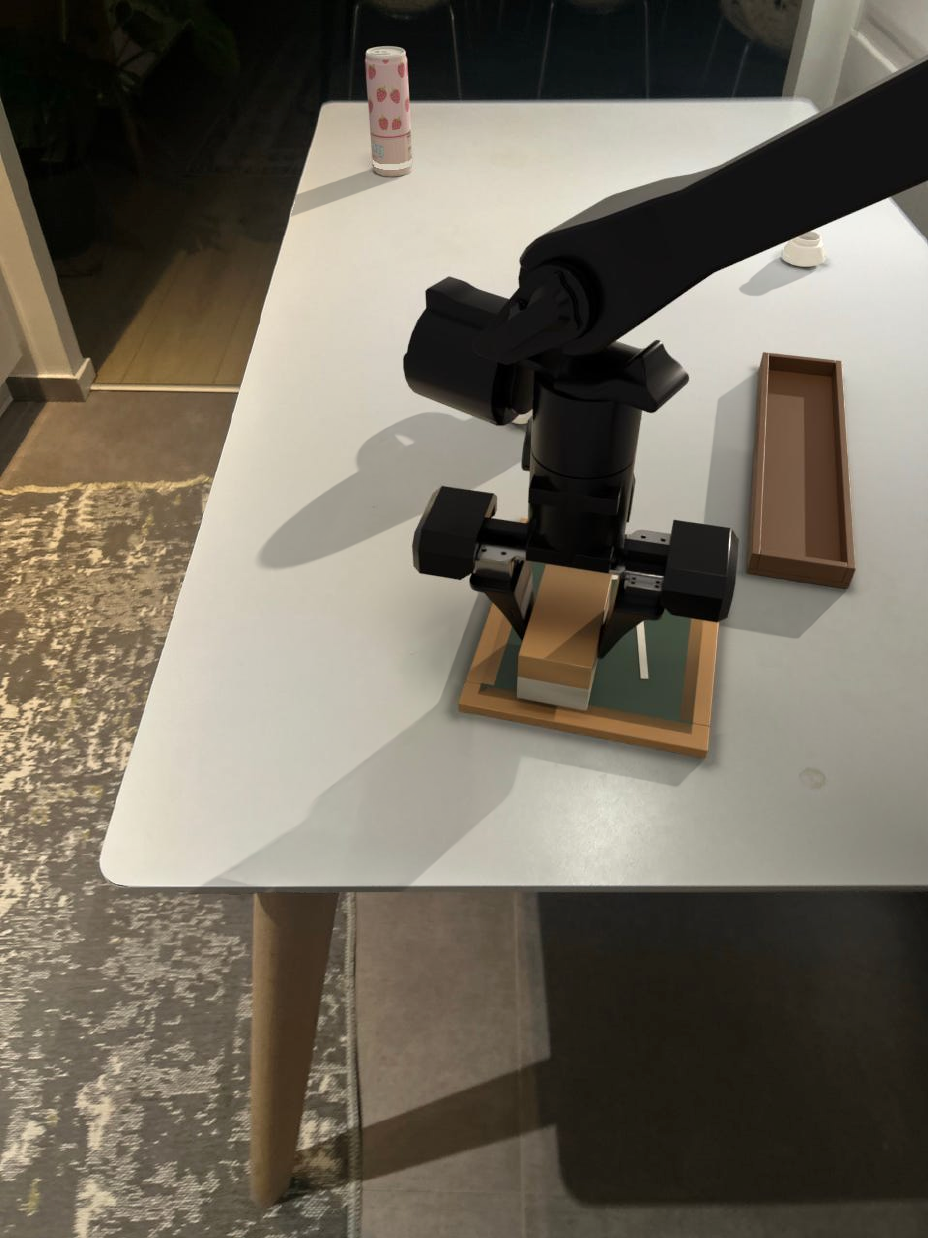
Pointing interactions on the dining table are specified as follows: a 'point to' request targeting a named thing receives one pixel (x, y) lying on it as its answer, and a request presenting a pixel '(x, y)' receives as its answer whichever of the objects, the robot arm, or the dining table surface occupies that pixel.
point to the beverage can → (389, 108)
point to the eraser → (563, 637)
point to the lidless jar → (804, 250)
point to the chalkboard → (611, 683)
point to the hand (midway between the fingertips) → (565, 647)
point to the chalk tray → (801, 474)
